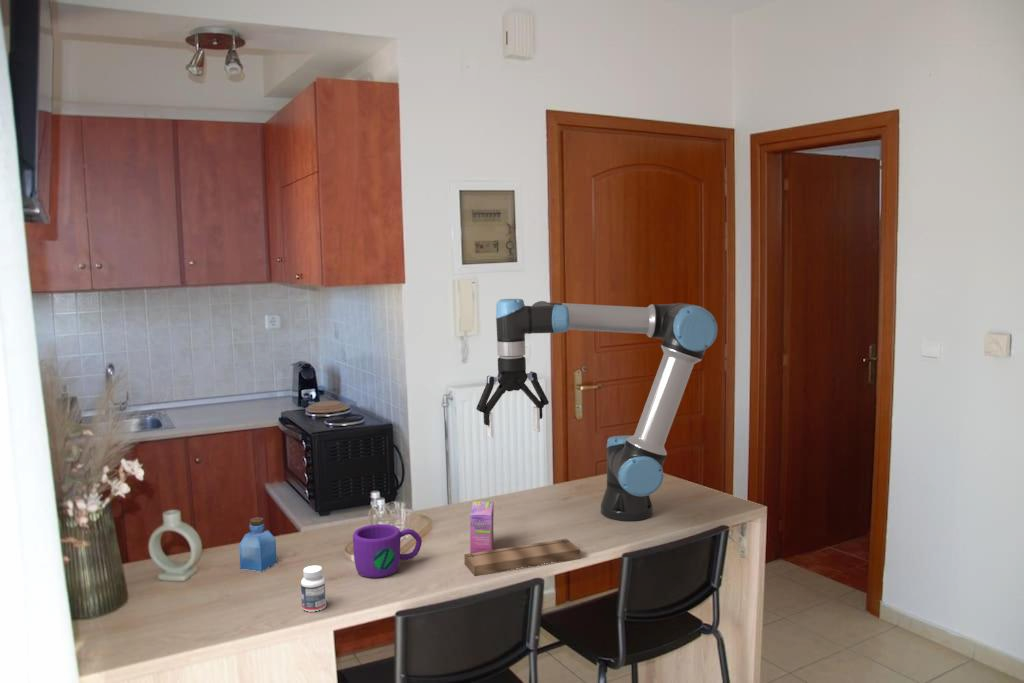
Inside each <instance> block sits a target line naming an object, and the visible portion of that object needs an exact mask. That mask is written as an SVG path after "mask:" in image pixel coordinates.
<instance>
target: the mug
mask: <svg viewBox="0 0 1024 683" xmlns="http://www.w3.org/2000/svg"><path fill="white" fill-rule="evenodd" d="M408 535H410V536H412V537H413V538H414V539H415V541H416V543H415V545H414V549H413V550H412V552H410V553H406V554H405V553H404V554H402V553H401V538H403V537H405V536H408ZM422 541H423V540H422V537H421V536H420V535H419V533H418V532H417V531H415V530H414V529H411V528H405V529H403V530H400V529H399V528H398V527H397V526H395V525H391V524H385V523H384V524H380V523H378V524H377V523H376V524H369V525H366V526H365V525H364V526H362V527H359V528H357V529H356V530H355V531H354V532H353V534H352V544H353V545H352V546H353V547H352V548H353V560H354V565H355V569H356V571H357V573H358V574H359V575H360V576H363V577H365V578H372V579H375V578H376V579H377V578H385V577H388V576H390V575H393V574H394V573H395V572H397V570H398V569H399V567H400V560H401V561H407V560H410V559H413V558H414V557H416V556H418V554H419V552H420V550H421V547H422Z"/></svg>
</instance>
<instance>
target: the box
mask: <svg viewBox="0 0 1024 683" xmlns="http://www.w3.org/2000/svg"><path fill="white" fill-rule="evenodd" d="M494 512H495V510H494V501H472V503H471V508H470V512H469V554H470V553H476V552H483V551H489V550H494V544H495V543H494V538H495V536H494V532H495V531H494V515H495V514H494Z"/></svg>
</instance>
